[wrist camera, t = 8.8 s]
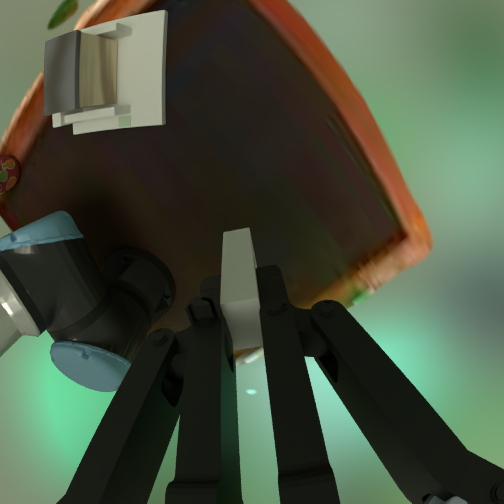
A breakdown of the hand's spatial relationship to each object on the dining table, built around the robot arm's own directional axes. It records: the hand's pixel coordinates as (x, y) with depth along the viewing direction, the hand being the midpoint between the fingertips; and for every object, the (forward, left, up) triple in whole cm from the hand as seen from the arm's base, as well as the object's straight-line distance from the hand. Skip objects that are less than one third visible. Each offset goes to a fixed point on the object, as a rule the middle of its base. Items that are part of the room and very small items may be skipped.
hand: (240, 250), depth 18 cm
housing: (-6, +25, -27) cm, 38 cm away
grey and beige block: (-7, +27, -26) cm, 38 cm away
